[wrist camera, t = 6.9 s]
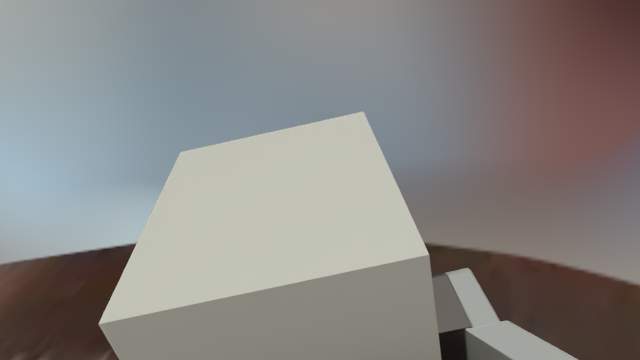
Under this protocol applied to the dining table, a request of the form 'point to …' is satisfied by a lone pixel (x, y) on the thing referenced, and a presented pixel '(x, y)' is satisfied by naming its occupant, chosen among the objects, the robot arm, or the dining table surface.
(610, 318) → the dining table surface
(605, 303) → the dining table surface
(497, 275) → the dining table surface
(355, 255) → the rider
